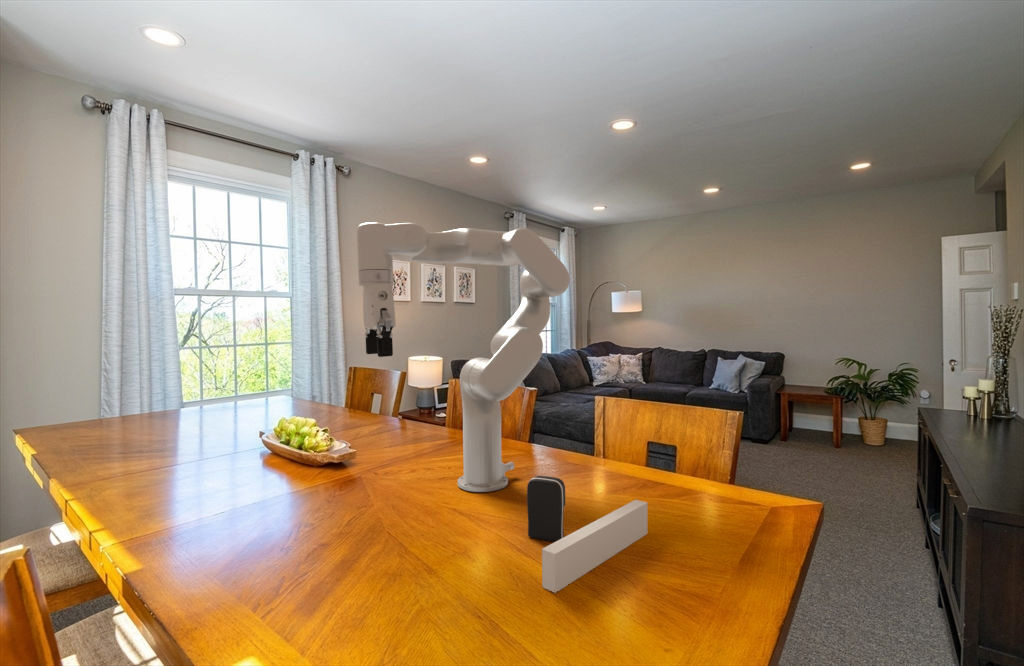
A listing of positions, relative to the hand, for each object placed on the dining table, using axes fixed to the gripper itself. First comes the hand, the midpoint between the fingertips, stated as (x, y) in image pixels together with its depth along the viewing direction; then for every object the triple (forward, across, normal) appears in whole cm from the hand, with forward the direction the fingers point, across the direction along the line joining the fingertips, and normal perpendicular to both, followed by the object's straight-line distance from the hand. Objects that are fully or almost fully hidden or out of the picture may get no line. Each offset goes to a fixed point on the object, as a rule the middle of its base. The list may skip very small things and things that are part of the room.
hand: (379, 355), depth 113 cm
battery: (+34, -35, -21) cm, 53 cm away
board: (+34, -47, -24) cm, 63 cm away
